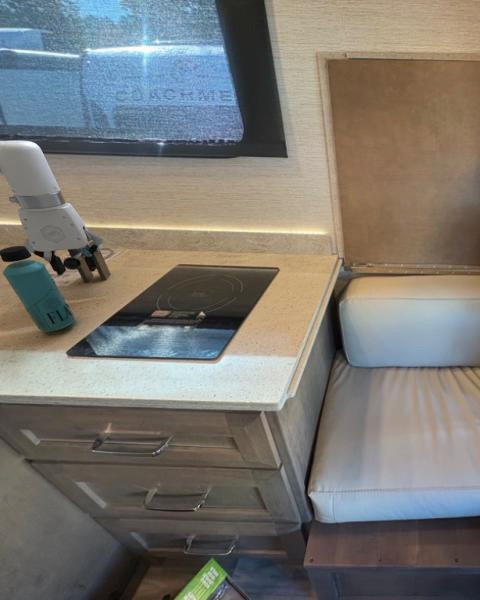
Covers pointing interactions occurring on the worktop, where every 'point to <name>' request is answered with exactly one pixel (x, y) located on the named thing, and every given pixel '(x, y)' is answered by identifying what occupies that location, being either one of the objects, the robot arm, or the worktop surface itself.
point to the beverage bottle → (36, 290)
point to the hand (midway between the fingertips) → (78, 270)
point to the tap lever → (74, 261)
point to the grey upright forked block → (84, 269)
